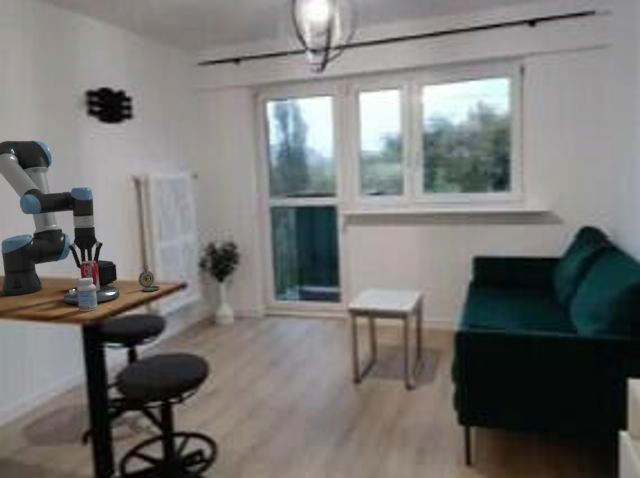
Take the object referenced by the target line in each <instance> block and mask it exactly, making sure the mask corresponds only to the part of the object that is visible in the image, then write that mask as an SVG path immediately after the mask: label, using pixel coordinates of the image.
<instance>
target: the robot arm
mask: <svg viewBox="0 0 640 478" xmlns="http://www.w3.org/2000/svg"><path fill="white" fill-rule="evenodd" d="M52 158H53V157H52V152H51V150H50V148H49V147H48V145H47V144H46V143H45V142H43V141H39V140H37V141H36V140H5V141H1V142H0V175H2V177H3V178H4V179H5V180H6V182H7V183H8V185H10V187H11V188H12V189H13V190H14V192H16V194H17V195H18V196H19V198H20V199H19V207H20V209H21V210H20V211H22V213H23V214H25V215H32V218H33V223H34V227H35V231H34V232H33V233H32V234H22V235H21V234H20V235H15V236H10V237H7V238H5V239H3V240H2V242H1V243H0V244H1V250H0V251H1V255H2V265H3V272H4V273H3V274H4V277H3V280H2V283H1V284H2V285H1V294H2V295H4V296H18V295H19V296H20V295H25V294H32V293H36V292H40V291H41V290H42V289H43V284H42V281H41V280H40V278H39V277H40V276H39V275H38V273H37V271H36V265H39V264H40V265H42V264H46V263H52V262H55V263H56V262H59V261H62V260H63V261H64V260H65V259H67V258H68V257H69V255H70V251H71V253H72V257H73V259H74V262H75V265H76V268H78V269H80V266H81V264H82V262H84V261H96V263H97V264H98V260H100V255H101V254H100V253H101V249H102V247H103V244H104V243H103V242H101V241H98V239H97V238H96V230H95V226H94V225H95V216H94V215H95V214H94V201H93V199H94V197H93V192H92V188H91V187H88V186H87V187H72V188H71V191H62V192H53V193H51V192H50V185H49V183H48V178H47V172H49V167H51V165H52ZM69 211H70V212H72V216H73V217H72V218H73V227H74V228H73V232H74V240H73V243H71V238H70V237H69V235H68V234H67V233H65V232H63V229H62V228H61V227H60V226H58V223H57V219H56V218H57V217H56V215H55V213H59V212H69ZM94 246H95V249H94V250H95V252H94V257H93V253H92V252H93V248H94ZM76 247H77V248H78V249H79V251H80V258H79V256H78V253H77V251H76ZM86 254H87V255H86ZM86 257H87V258H86ZM80 261H81V262H80Z"/></svg>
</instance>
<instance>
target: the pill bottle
mask: <svg viewBox="0 0 640 478" xmlns="http://www.w3.org/2000/svg"><path fill="white" fill-rule="evenodd" d="M92 283H93V278H82V279H81V278H79V279H78V284H79V285H78V286H77V289H76V290H77V291H78V303H79V304H78V310H79V312H83V313H85V312H92V311H95V310H98V302H97V297H96V287H95V285H94V284H92Z"/></svg>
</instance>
